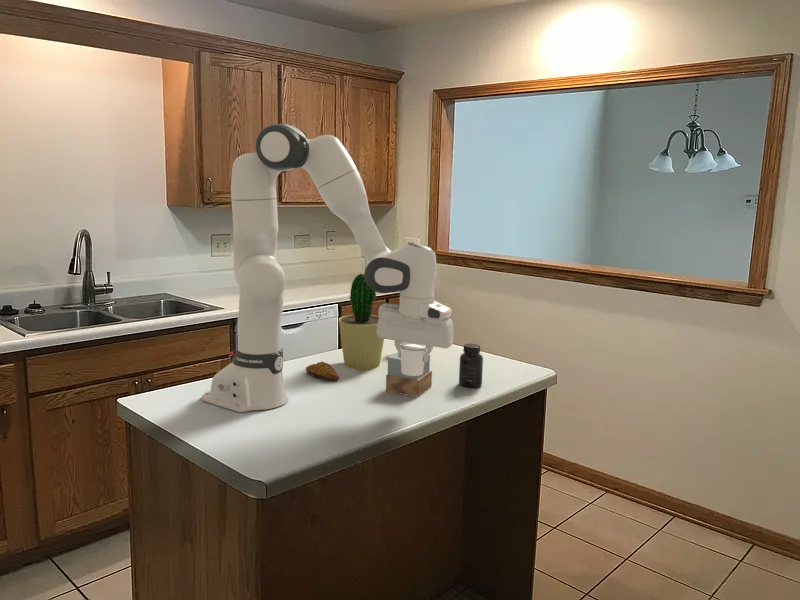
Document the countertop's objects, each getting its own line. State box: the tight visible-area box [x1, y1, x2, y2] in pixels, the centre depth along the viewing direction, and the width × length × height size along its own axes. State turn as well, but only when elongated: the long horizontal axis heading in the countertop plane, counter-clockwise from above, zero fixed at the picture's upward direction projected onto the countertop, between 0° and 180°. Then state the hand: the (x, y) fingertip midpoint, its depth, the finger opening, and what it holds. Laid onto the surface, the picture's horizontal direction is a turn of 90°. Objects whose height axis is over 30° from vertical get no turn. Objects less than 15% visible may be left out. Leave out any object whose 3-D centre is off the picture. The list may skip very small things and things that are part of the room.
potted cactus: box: [338, 273, 385, 370], centre depth 206 cm, size 15×15×30 cm
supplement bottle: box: [458, 343, 484, 389], centre depth 191 cm, size 7×7×12 cm
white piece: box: [400, 343, 427, 376], centre depth 169 cm, size 7×7×7 cm
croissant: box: [305, 361, 340, 382], centre depth 194 cm, size 14×7×5 cm, turn 48°
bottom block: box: [385, 370, 433, 398], centre depth 186 cm, size 10×10×5 cm
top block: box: [387, 351, 431, 380], centre depth 185 cm, size 9×9×5 cm
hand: (412, 359), depth 169 cm, fingers closed on white piece, 5 cm apart
